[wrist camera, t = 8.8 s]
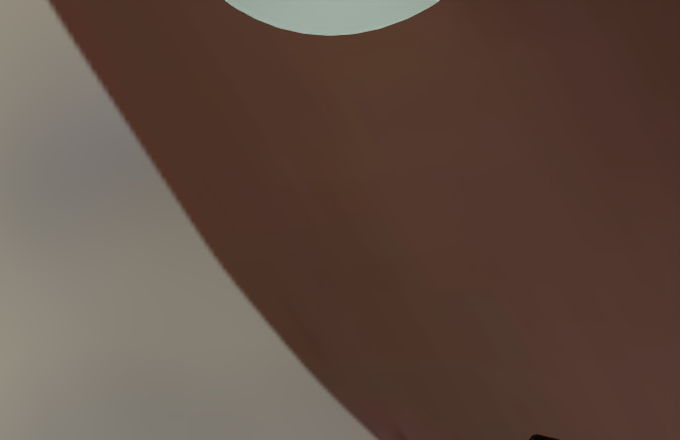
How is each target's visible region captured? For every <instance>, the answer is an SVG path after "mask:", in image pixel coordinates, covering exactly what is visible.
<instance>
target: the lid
mask: <svg viewBox="0 0 680 440" xmlns="http://www.w3.org/2000/svg"><path fill="white" fill-rule="evenodd" d="M225 1H226V2H228V3H229V4H230V5H232V6H233V7H235V8H237V9H238V10H240V11H242V12H244V13H246V14H248V15H249V16H251V17H253V18H255V19H257V20H260V21H262V22H265V23H268V24H270V25H273V26H276V27H278V28H282V29H286V30H290V31H295V32H299V33H304V34H316V35H328V36H330V35H346V34H356V33H361V32H366V31H371V30H376V29H380V28H383V27H386V26H389V25H391V24H394V23H397V22H400V21H403V20H406V19H408V18H410V17H412V16H414V15H416V14H418V13H419V12H421V11H423V10H425V9H427V8H429V7H431V6H432V5H434V4H435V3H437V2H438V1H440V0H225Z"/></svg>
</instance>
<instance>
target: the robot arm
mask: <svg viewBox="0 0 680 440" xmlns="http://www.w3.org/2000/svg"><path fill="white" fill-rule="evenodd" d="M529 440H559V439H555V438H551V437H547V436H543V435H538V434H536V435H532V436H531V438H530V439H529Z"/></svg>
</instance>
